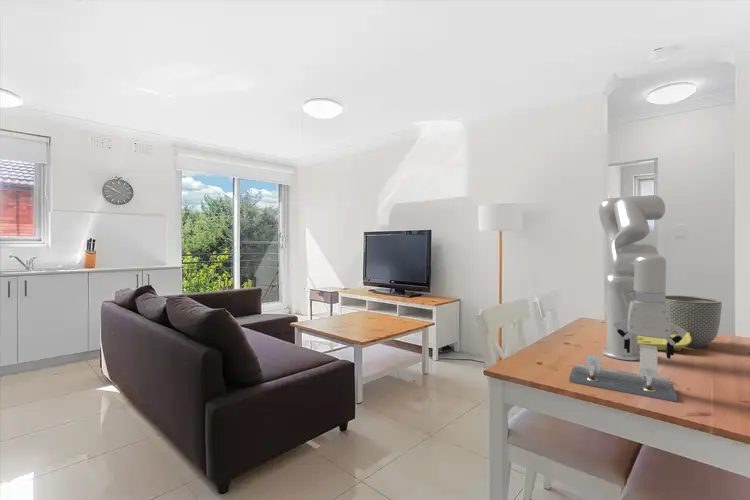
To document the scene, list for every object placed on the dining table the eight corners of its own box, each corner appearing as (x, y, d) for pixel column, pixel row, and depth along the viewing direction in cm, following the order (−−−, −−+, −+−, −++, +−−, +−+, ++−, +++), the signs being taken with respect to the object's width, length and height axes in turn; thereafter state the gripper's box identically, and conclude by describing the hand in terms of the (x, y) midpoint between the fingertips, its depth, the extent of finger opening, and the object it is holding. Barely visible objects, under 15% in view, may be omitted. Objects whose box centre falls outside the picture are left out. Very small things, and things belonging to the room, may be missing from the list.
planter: (714, 342, 156) (715, 297, 156) (726, 354, 140) (727, 304, 139) (656, 335, 167) (656, 293, 166) (660, 346, 150) (661, 300, 150)
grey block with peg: (640, 386, 106) (640, 351, 105) (639, 377, 112) (639, 344, 112) (658, 389, 103) (658, 353, 103) (655, 380, 110) (656, 346, 110)
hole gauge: (569, 381, 115) (569, 359, 115) (573, 371, 123) (573, 351, 123) (676, 401, 100) (677, 376, 100) (672, 389, 109) (673, 365, 109)
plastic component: (629, 342, 149) (627, 327, 156) (630, 357, 151) (628, 341, 159) (693, 346, 138) (688, 329, 146) (693, 361, 141) (687, 344, 149)
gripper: (613, 296, 111) (612, 353, 112) (689, 302, 101) (687, 363, 102) (614, 293, 117) (613, 346, 118) (685, 297, 107) (683, 355, 108)
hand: (647, 354), depth 110 cm, fingers open, 9 cm apart
